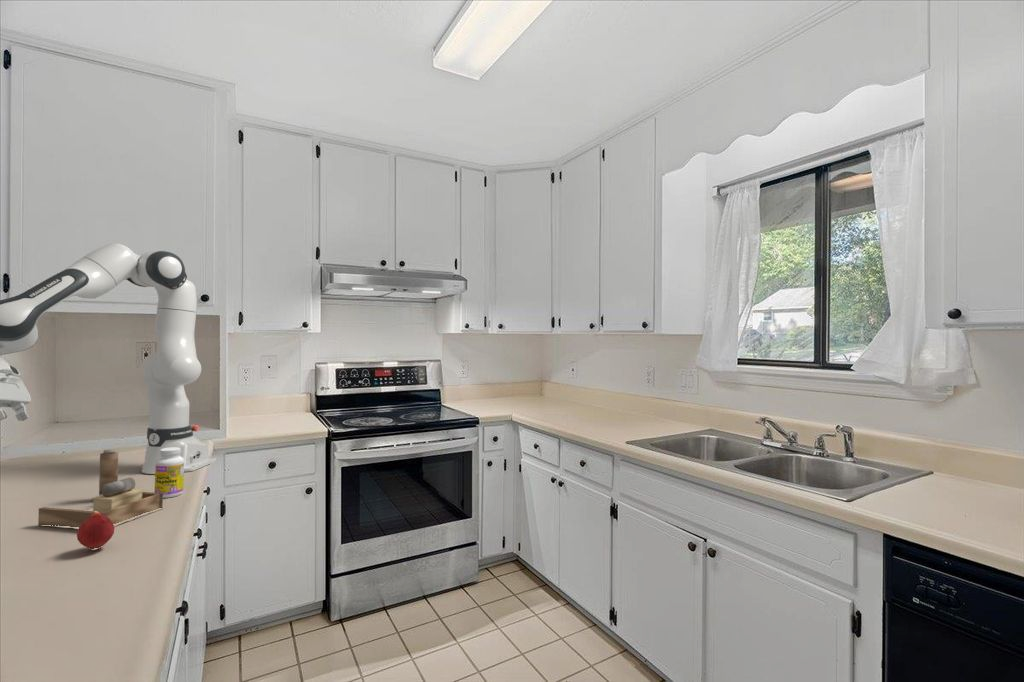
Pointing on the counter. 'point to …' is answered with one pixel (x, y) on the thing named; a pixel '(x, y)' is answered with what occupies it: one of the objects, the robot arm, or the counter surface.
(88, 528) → the onion
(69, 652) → the counter surface
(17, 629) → the counter surface
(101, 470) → the brown wooden pepper mill
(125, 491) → the block with grey roller
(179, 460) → the supplement bottle
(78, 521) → the bay
